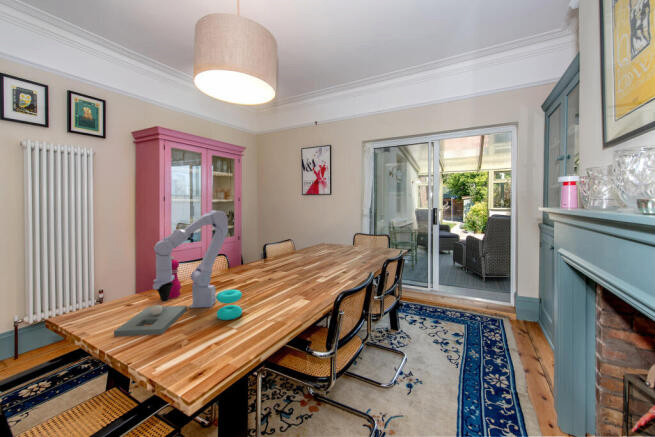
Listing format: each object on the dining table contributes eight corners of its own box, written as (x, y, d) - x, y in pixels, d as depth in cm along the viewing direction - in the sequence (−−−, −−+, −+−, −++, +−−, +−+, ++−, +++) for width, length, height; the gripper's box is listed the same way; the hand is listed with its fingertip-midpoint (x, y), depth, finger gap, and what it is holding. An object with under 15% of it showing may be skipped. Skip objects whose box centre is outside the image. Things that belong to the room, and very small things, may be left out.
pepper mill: (161, 297, 136) (159, 257, 134) (174, 293, 142) (173, 254, 141) (171, 299, 133) (170, 258, 132) (184, 294, 140) (183, 255, 138)
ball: (164, 312, 113) (164, 303, 112) (159, 316, 109) (159, 306, 108) (154, 312, 112) (153, 303, 112) (148, 317, 108) (148, 307, 108)
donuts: (213, 291, 115) (238, 287, 121) (214, 314, 116) (238, 309, 121) (218, 298, 107) (244, 293, 112) (219, 323, 107) (245, 317, 113)
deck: (187, 310, 120) (186, 305, 120) (162, 334, 98) (161, 328, 98) (148, 311, 119) (148, 306, 118) (114, 336, 97) (113, 330, 97)
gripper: (162, 265, 123) (163, 295, 124) (144, 273, 109) (145, 307, 109) (179, 265, 124) (179, 294, 125) (163, 273, 109) (164, 307, 110)
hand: (164, 300), depth 117 cm, fingers closed
